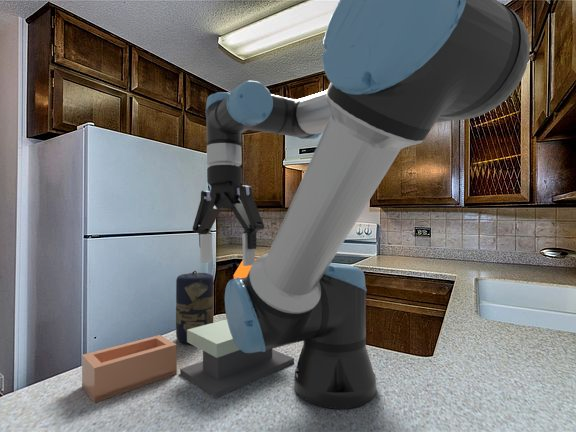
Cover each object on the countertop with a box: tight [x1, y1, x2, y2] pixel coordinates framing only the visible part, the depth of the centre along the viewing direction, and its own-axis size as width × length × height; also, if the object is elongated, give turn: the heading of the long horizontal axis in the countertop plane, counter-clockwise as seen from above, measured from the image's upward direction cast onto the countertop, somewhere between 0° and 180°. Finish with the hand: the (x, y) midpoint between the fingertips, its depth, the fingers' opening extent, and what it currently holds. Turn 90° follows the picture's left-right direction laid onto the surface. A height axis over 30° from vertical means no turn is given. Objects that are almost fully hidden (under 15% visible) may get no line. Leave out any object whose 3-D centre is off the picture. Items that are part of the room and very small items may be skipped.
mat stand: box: [179, 348, 295, 399], centre depth 70 cm, size 13×20×6 cm, turn 135°
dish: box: [81, 334, 178, 404], centre depth 65 cm, size 8×15×6 cm, turn 135°
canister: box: [175, 270, 215, 344], centre depth 87 cm, size 10×10×18 cm
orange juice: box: [233, 257, 257, 279], centre depth 99 cm, size 8×9×20 cm
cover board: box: [187, 318, 240, 358], centre depth 70 cm, size 11×18×2 cm, turn 135°
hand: (226, 264), depth 72 cm, fingers open, 13 cm apart
